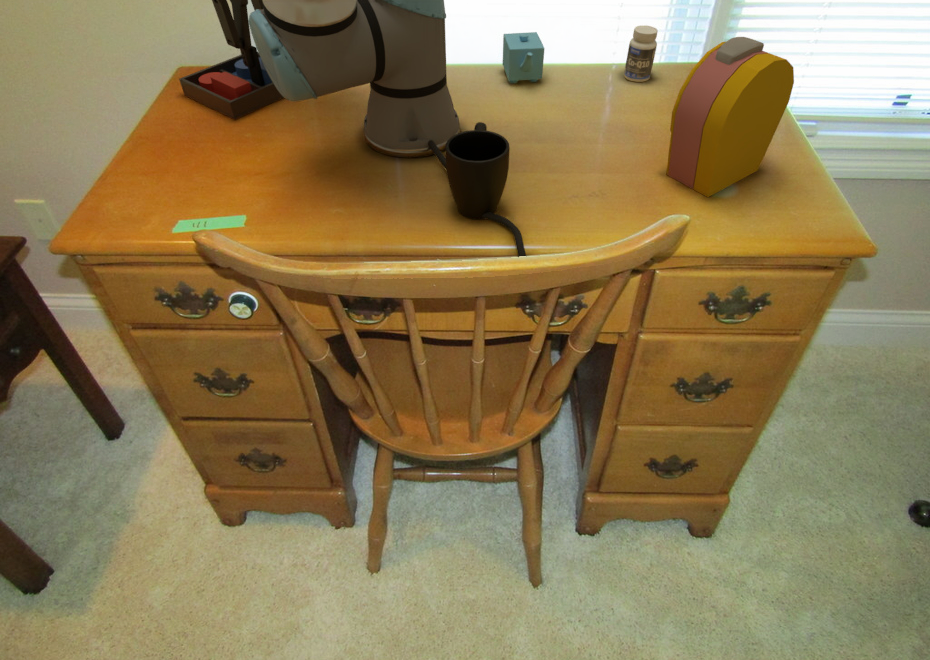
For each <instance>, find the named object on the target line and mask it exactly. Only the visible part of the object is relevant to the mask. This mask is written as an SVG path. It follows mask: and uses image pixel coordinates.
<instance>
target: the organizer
mask: <svg viewBox="0 0 930 660" xmlns="http://www.w3.org/2000/svg"><path fill="white" fill-rule="evenodd" d="M257 53H258V57H260V55H259V52H258V51H257ZM241 59H242V55H241V54H239V55H236V56H234V57H231V58H229V59H226V60H223V61H221V62H219V63H216V64H213V65H211V66H208V67H206V68H203V69H200V70H198V71H195V72H194V73H190V74H188V75H185V76H183V77H180V78H178V81H179V83H180V86H181V89H182V92H183V95H184V96H185V97H188V98H189V99H191V100H193V101H196V102H197V103H199V104H202V105H204V106H205V107H208V108H210V109H212V110H214V111H217V112H218V113H219V114H222V115H224V116H226V117H227V118H228V117H229V118H230V119H232V120H237V119H239V118H242V117H244V116H246V115H249V114H250V113H253V112H255V111H257V110H260V109H262V108H264V107H266V106H269V105H270V104H272V103H274V102H277V101H279V100H281V99H285V98H284V97H283V96H282V95H281V94H280V93H279V91H278V90H277V88H276V87H275V85H274V84H273V82H272V83H270V84H268V85H266V86H264V85H263V86H260V85H258V84H256V83H254V82H252V80H251V79H243V78H241V77H239V76H237V72H236V69H235V63H236V62H237V61H239V60H241ZM212 72H220V73H222V72H227V73H229V74H232V75H234V76H236V77H238V78H241V79H243V80H245V81H248V82H249V83H250V86H251V90H252V92H249V93H247V94H245V95H242V96H240V97H238V98H236V99H233V100H231V101H230V100H228V99H226V98H224V97H222V96H220V95H218V94H215V93H213V92H211V91H209V90H207V89H205V88H203V87H201V86H200V83H199V77H200V76H202V75H204V74H207V73H212Z"/></svg>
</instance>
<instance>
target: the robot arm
mask: <svg viewBox="0 0 930 660" xmlns="http://www.w3.org/2000/svg"><path fill="white" fill-rule="evenodd" d="M229 2H230V4H231V8H230V5H229ZM229 2H228V0H211V3H212V4H213V7H214V10H215V13H216V16H217V18H218V21H219V24H220V27H221V30H222V32H223V36H224V38H225V41H226V44H227V45H228V46H230V47H233V48H235V49H237V50H239V51H240V55H242V59H243V63H244V65H245V66H247V67H249V71H250V75H251V79H252V82H254V83H256V84H258V85H260V86H263V85H265V83H264V79H263V75H262V71H261V65H260V61H259V57H258V53H257V52H259V55H260V57H261V59H262V62H263V64H264V66H265V68H266V70H267V72H268V74H269V76H270V78H271V80H272V82H273V84H274V85H275V87H276V88H277V90H278V91H279V93H280V94H281V95H282V96H283V97H284V98H283V99H286V100H287V101H289V102H293V103H296V102H302V101H308V100H312V99H313V100H318V98H319V97H324V96H326V95H331V94H334V93H337V92H341V91H345V90H348V89H352V88H356V87H359V86H360V87H361V86H363V85H368V84H369V94H368V100H367V107H366V115H365V117H364V119H363V135H364V141H365V143H366V144H367V145H368V146H369V147H370V149H372V150H374V151H376V152H378V153H380V154H383V155H386V156H390V157H396V158H406V159H407V158H409V159H410V158H422V157H427V156H432V155H434V156H435V157H436V158H437V159H438V161H439V162H440V164H441V166H442V167H443V168H444V169H445V170H446V156H445V155H444V154H443V153H442V152H443V151H445V145H446V143H447V141H448V140H449V139H450V138H451V137H452V136H454V135H456V134H458V133H461V123H460V119H459V115H458V113H457V110H456V109H455V107H454V103H453V99H452V96H451V93H450V90H449V87H448V81H447V79H448V77H447V47H446V46H447V43H446V18H447V14H446V8H445V7H446V5H445V0H250V2H251V4H252V8H253V10H254V11H252V12H250V14H249V13H248V5H249V0H229ZM231 9H232V11H231ZM251 36H252V38H251ZM252 40H253V42H254V45H255V46H253V45H252ZM482 217H483V218H485V219H484V220H489V221H492V222H496V223H498V224H500V225H502V226H504V227H506V228H507V229H508V230H509V231H510V232H511V234H512V236H513V239H514V242H515V247H516V252H517V256H518V257H519V256H526V257H527V254H526V253H527V252H526V250H525V246H524V240H523V236H522V232H521V230H520V229H519V228H518V227H517V226H516V224H515V223H513V222H512V221H511V220H510V219H508V218H506V216H503V215H500V214H497V213H495V214H494V213H491V212H487V213H485V214H484V215H482Z"/></svg>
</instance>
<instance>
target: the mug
mask: <svg viewBox="0 0 930 660" xmlns="http://www.w3.org/2000/svg"><path fill="white" fill-rule="evenodd" d="M487 128H488V127H487V124H486V123H485V122H482V121H479V122H477V123H475V125H474V129H471V130H465V131H460V133H458V134H456V135H454V136H452V137H451V138H450V139H449V140H448V141H447V143H446V145H445V150H444V152H445V158H446V169H445V171H446V177H447V182H448V186H449V189H450V193H451V195H452V199H453V201H454V203H455V205H456V209H457V213H459V215H461V216H462V217H464V218H467V219H470V220H475V221H476V220H477V221H478V220H486V219H485V218H483V217H482V215H484V214H485V213H487V212H491V213H494V214H497V211H498V209H499V205H500V202H501V200H502V197H503V194H504V191H505V188H506V184H507V180H508V176H509V171H510V154H511V153H510V151H511V147H510V142H509V141H508V139H507V138H506V137H505V136H503V135H502V134H499V133H497V132H495V131H491V130H487Z"/></svg>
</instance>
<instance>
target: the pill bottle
mask: <svg viewBox="0 0 930 660" xmlns="http://www.w3.org/2000/svg"><path fill="white" fill-rule="evenodd" d="M658 33H659V32H658V29H657V28H656V27H655V26H651V25H642V24H641V25H637V26H635V27H634V29H633V32H632V38H631V39H630V41H629V44H628V49H627V54H626V62H625V67H624V72H623V76H624V78H625V79H626V80H628V81H631V82H635V83H642V82H647V81H649V80H650V78H651V74H652V70H653V66H654V61H655V58H656V57H655V56H656V51H657V46H658V42H657V41H656V40H657V36H658Z"/></svg>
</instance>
